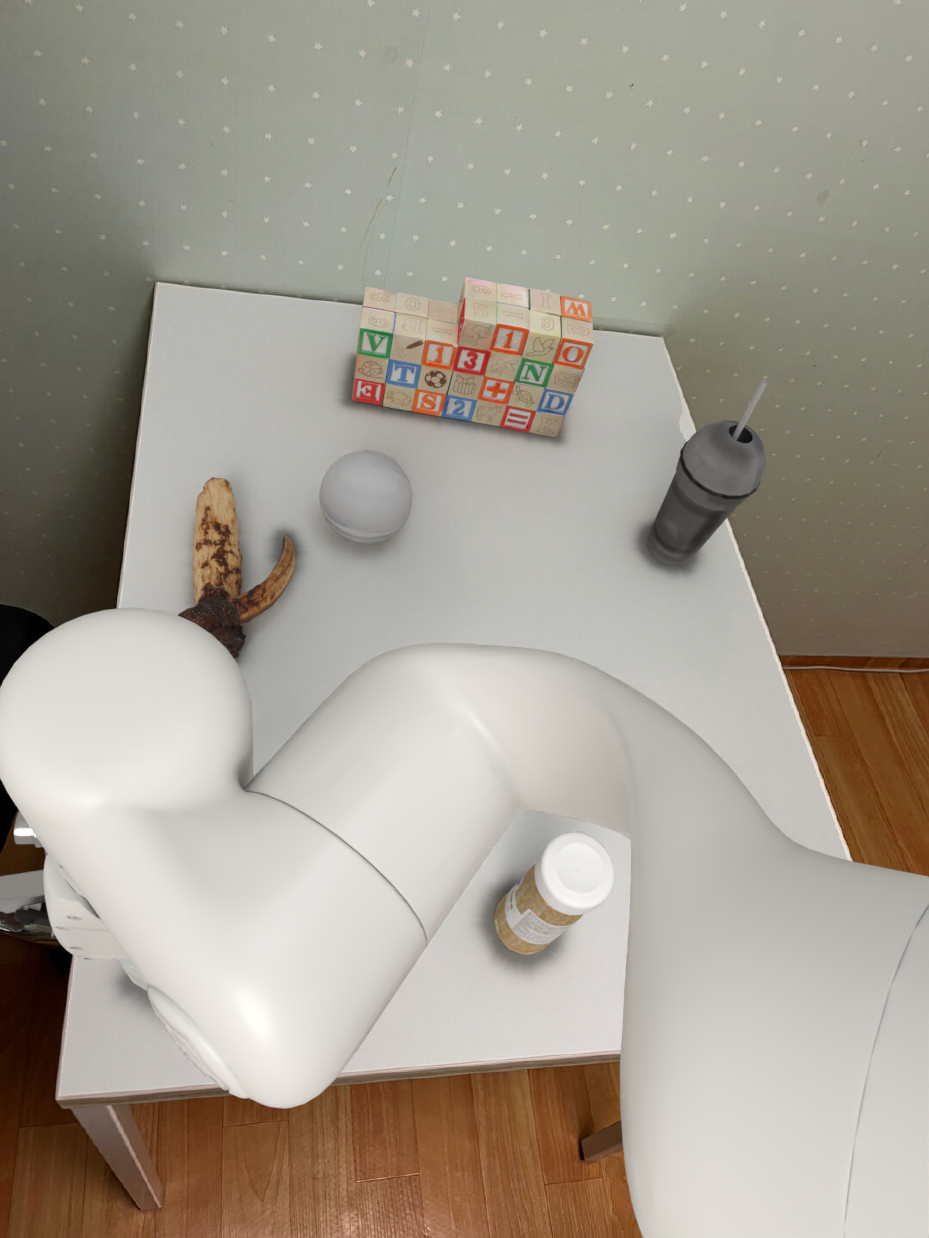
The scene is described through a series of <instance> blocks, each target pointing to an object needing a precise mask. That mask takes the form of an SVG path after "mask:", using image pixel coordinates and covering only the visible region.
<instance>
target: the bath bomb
mask: <svg viewBox="0 0 929 1238" xmlns="http://www.w3.org/2000/svg"><path fill="white" fill-rule="evenodd" d="M318 495H319V496H318V498H319V500H318V501H319V507H320V511H321V514H322V516H323V518H324V520H325V522H326V523H327V525H328V526H329V527H330V528H331V530H333V531H334V532H335V533H336V534H337V535H338V536H339V537H341V538H342V539H344V540H347V541H350V542H352V543H356V544H360V545H374V544H378V543H382V542H384V541H386V540H388V539H390V538H392V537H393V536H395V535H396V534H398V532H399V531H400V530H401V529H402V528H403V527H404V526H405V524H406V523H407V521H408V519H409V517H410V514H411V513H412V512H411V511H412V508H413V489H412V485H411V481H410V479H409V477H408V475H407V473H406V471H405V470H404V469H403V467H402V466H401V465H400V464H399V463H398V462H397V461H396V460H395V459H393V458H391V457H390V456H388V455H386V454H384V453H381V452H380V451H379V452H378V451H375V450H367V449H365V450H364V449H363V450H356V451H352V452H349V453H346V454H344V455H343V456H340V457H339V458H337V460H335V462H333V463H332V464H330V466H329V467H328V469H327V470H326V472H325V473H324V476H322V480H321V482H320V487H319V494H318Z"/></svg>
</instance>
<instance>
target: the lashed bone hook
mask: <svg viewBox="0 0 929 1238" xmlns="http://www.w3.org/2000/svg"><path fill="white" fill-rule="evenodd" d="M239 533H240V532H239V518H238V515H237V510H236V503H235V496H234V493H233V489H232V485H231V482H230V481H229V480H228V479H226V478H223V477H214V476H212V477H211V478H209V479H208V480H207V481H205V483H204V485H203V487H202V491H201V492H200V493H199V494H198V496H197V499H196V504H195V525H194V526H193V540H192V542H193V544H192V549H193V551H192V574H193V600H194V606H192V607H189V608H186V609H184V610H183V611H182V612H179V613H178V614H177V615H178V616H180V617H182V618H184V619H187V620H189V621H191V622H194V623H195V624H197V625H198V626H200V627H201V628H203V629H204V630H206V631H207V632H209V633H210V634H212V635H213V636H214V637H215V638H216V639H217V640H218V641H219V642H220V643H221V644H222V645H223V646H225V647H226V648H227V650H228V651H229V653H230V654H231V655H232V657H233V658H234V660H235V661H236V659H237V658H239V657H240V652H241V650H242V648H243V647H244V645H245V643H246V638H247V635H246V634H245V633H244V628H243V624H246V623H249V622H250V621H252V620H254V619H255V618H258V617H259V616H262V615H263V614H264V613H265V612H267V611H268V610H270V609H271V608H272V607H273V606H274V605H275V603H276V602H277V601H278V600H279V599H280V598H281V597H282V596H283V594H284V592H285V591H286V589H287V587H288V586H289V584H290V581H291V580H292V578H293V576H294V572H295V570H296V563H297V556H296V555H297V554H296V551H295V547H294V544H293V542H292V540H291V539H290V537H289V536H288V535H284V537H283V540H282V548H281V549H282V550H281V552H280V556H279V558H278V561H277V563H276V564H275V566H274V568H273V569H272V571H271V572H270V573H269V575H268V576H267V577H266V578H265V579H264V580H263V581H262V582H260V583H259V584H256V585H255V586H254V587H253V588H251V589H249V590H247V591H246V592H243V593H241V590H242V587H243V577H242V575H243V573H242V562H243V555H242V553H241V548H240V540H239V535H240V534H239Z"/></svg>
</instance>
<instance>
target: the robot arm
mask: <svg viewBox="0 0 929 1238" xmlns="http://www.w3.org/2000/svg"><path fill="white" fill-rule="evenodd" d="M250 695H251V694H250V691H249V688H248V683H247V680H246V677H245V676H244V673H243V672H242V670H241V667H240V665H239V664H238V662H237V661H236V659H235V660H234V658H233V657H232V655H231V654H230V653H229V651H228V650H227V648H226V647H225V646H223V645H222V644H221V643H220V642H219V641H218V640H217V639H216V638H215V637H214V636H213V635H212V634H210V633H209V632H207V631H206V630H204V629H203V628H201V627H200V626H198V625H197V624H195V623H194V622H191V621H189V620H187V619H184V618H182V617H180V616H178V614H176V613H175V614H174V613H171V612H167V611H163V610H160V609H153V608H143V607H120V608H119V607H118V608H111V609H102V610H99V611H95V612H91V613H87V614H83V615H81V616H78V617H76V618H73V619H71V620H69V621H68V620H67V621H66V622H64V623H62V624H60V625H59V626H57V627H55V628H54V629H52V630H50V631H48V632H47V633H45V634H44V635H42V636H41V637H40V638H39V639H37V640H36V641H34V642H33V643H32V644H31V645H30V646H29V647H28V648H27V649H26V650H25V651H24V652H22V654H21V655H20V657H19V658H17V660H15V662H14V663H13V665H12V667H11V668H10V670H9V671H8V673H7V674H6V676H5V677H4V679H3V680H2V683H1V685H0V781H1V783H2V785H3V786H4V788H5V791H6V793H7V794H8V795H9V797H10V799H11V800H12V802H13V803H14V805H15V807H17V809H18V813H17V814H16V818H15V822H14V828H13V839H14V843H15V844H16V845H34V847H35V848H36V849H44V855H45V859H44V864H43V869H39V870H32V871H26V872H20V873H12V874H7V875H1V876H0V912H2V913H4V914H12V913H14V917H13V920H14V921H16V922H18V923H19V925H22V926H31V925H38V926H44V927H49V928H51V934H50V938H51V939H54V940H57V941H58V943H59V945H61V946H62V948H64V950H66V951H67V952H68V953H70V954H71V955H72V956H74V957H77V958H79V959H80V958H81V959H84V960H118V959H129V960H130V961H131V962H132V964H133V965H134V967H135V968H136V969H137V971H138V972H139V974H140V975H141V977H142V978H143V979H144V981H145V982H146V984H147V985H148V991H147V996H148V1000H149V1004H150V1006H151V1007H152V1010H153V1012H154V1014H155V1016H156V1018H157V1019H158V1021H160V1022H161V1023H162V1024H163V1026H164V1027H165V1028H164V1030H165V1032H166V1033H167V1035H168V1036H169V1037H170V1039H171V1040H172V1041H173V1042H174V1044H175V1045H176V1047H177V1048H178V1049H179V1050H180V1051H181V1053H183V1055H184V1056H187V1059H188V1060H189V1061H190V1062H191V1063H192V1064H193V1065H194V1066H195V1068H197V1069H198V1070H199V1071H200V1072H201V1073H202V1074H203V1075H204V1076H206V1077H208V1078H210V1080H212V1081H213V1083H215V1084H216V1085H217V1087H219V1088H220V1089H222V1090H223V1091H228V1094H230V1095H232V1096H234V1097H237V1098H239V1099H250V1100H252V1101H254V1102H256V1103H258V1104H260V1105H263V1106H266V1107H269V1108H275V1109H291V1108H294V1107H295V1108H296V1107H298V1106H302V1105H305V1104H307V1103H308V1102H310V1101H311V1100H313V1099H315V1098H317V1097H318V1096H320V1095H321V1094H322V1093H323V1092H324V1091H325V1090H326V1089H327V1088H328V1087H329V1086H330V1085H331V1084H332V1083H333V1082H335V1080H337V1078H338V1077H339V1075H341V1073H342V1071H343V1070H344V1069H345V1067H347V1065H348V1063H350V1061H351V1060H352V1058H353V1057H354V1056H355V1055H356V1053H357V1051H358V1050H359V1049H360V1047H361V1046H362V1044H363V1043H364V1042H365V1040H366V1038H367V1037H368V1035H369V1034H370V1032H371V1031H372V1029H373V1028H374V1026H375V1025H376V1024H377V1022H378V1020H379V1019H380V1017H381V1016H382V1014H383V1013H384V1012H385V1010H386V1008H387V1007H388V1005H389V1004H390V1002H391V1001H392V999H393V998H394V996H395V995H396V993H397V992H398V991H399V989H400V988H401V986H402V985H403V983H404V981H405V980H406V979H407V977H408V975H410V972H411V971H412V969H413V968H414V967H415V965H416V963H417V962H418V960H419V959H420V958H421V956H422V954H423V953H424V951H425V950H426V949H427V947H428V946H429V944H430V943H431V941H432V940H433V938H434V937H435V935H436V934H437V932H438V931H439V929H440V928H441V926H442V924H443V923H444V921H445V920H446V918H448V915H449V914H450V913H451V911H452V910H453V908H454V907H455V905H456V903H457V902H458V901H459V899H460V898H461V896H462V895H463V893H464V892H465V891H466V889H467V887H468V886H469V884H470V883H471V881H472V880H473V878H475V876H476V874H477V872H478V871H479V869H480V868H481V866H483V863H484V862H485V860H487V858H488V857H489V855H490V854H491V852H492V851H493V849H494V848H495V846H496V845H497V844H498V842H499V841H500V839H501V838H502V836H503V835H504V833H505V832H506V830H507V829H508V827H509V826H510V824H511V823H512V822H513V820H514V818H515V817H516V816H517V815H519V814H521V813H528V812H529V813H530V812H533V813H534V812H536V813H545V814H551V815H556V816H560V817H565V818H570V819H573V820H577V821H582V822H585V823H589V824H592V825H596V826H599V827H601V828H605V829H607V830H610V831H612V832H615V833H617V834H620V835H621V836H623V837H625V838H627V839H628V840H630V884H629V885H630V886H629V887H630V888H629V889H630V890H629V915H628V916H629V917H628V930H627V931H628V932H627V945H626V946H627V947H626V959H625V973H624V985H623V986H624V987H623V989H624V990H623V1009H622V1028H621V1041H620V1055H619V1058H620V1059H619V1109H620V1122H621V1123H620V1124H621V1139H622V1149H623V1150H622V1151H623V1161H624V1170H625V1177H626V1181H627V1186H628V1192H629V1197H630V1202H631V1206H632V1209H633V1213H634V1216H635V1220H636V1223H637V1225H638V1228H639V1231H640V1234H641V1237H642V1238H929V876H928V875H922V874H918V873H912V872H908V871H903V870H899V869H898V870H897V869H893V868H889V867H888V868H887V867H884V866H883V867H882V866H878V865H873V864H867V863H862V862H857V861H853V860H849V859H844V858H842V857H837V856H832V855H829V854H826V853H823V852H820V851H818V850H814V849H811V848H809V847H806V846H804V845H802V844H800V843H798V842H796V841H795V840H793V839H792V838H791V837H789V836H788V835H786V834H785V832H783V831H782V830H781V829H780V828H779V827H778V826H777V825H776V824H775V822H773V821H772V820H771V818H770V817H769V815H768V814H767V812H766V811H765V810H764V808H763V807H762V806H761V805H760V804H759V802H758V800H756V798H755V797H754V795H753V794H752V792H751V791H750V790H749V789H748V788H747V786H746V784H744V782H743V781H742V780H741V778H739V776H738V775H737V773H736V772H735V771H734V770H733V768H732V767H731V766H729V764H728V763H727V762H726V761H725V760H724V759H723V758H722V757H721V755H719V753H717V751H715V750H714V749H713V748H712V746H711V745H710V744H708V743H707V742H706V740H704V739H703V737H702V736H700V735H699V734H698V733H697V732H696V731H694V729H692V728H691V727H689V726H688V725H687V724H686V723H684V722H683V721H682V720H681V719H679V718H678V717H677V716H675V715H674V714H673V713H671V711H669V710H667V709H666V708H665V707H663V706H662V705H661V704H659V703H657V702H656V701H654V700H653V699H651V698H650V697H649V696H647V695H646V694H644V693H642V692H641V691H640V690H638V689H636V688H634V687H633V686H631V685H629V684H628V683H626V682H624V681H623V680H621V679H619V678H617V677H615V676H613V675H611V674H609V673H608V672H606V671H604V670H602V669H600V668H599V667H597V666H595V665H592V664H590V663H588V662H586V661H583V660H580V659H578V658H575V657H572V656H570V655H569V656H568V655H566V654H563V653H559V652H554V651H549V650H544V649H539V648H538V649H537V648H532V647H531V648H530V647H519V646H510V645H509V646H506V645H491V644H478V643H464V642H463V643H460V642H429V643H419V644H412V645H407V646H403V647H398V648H394V649H390V650H388V651H385V652H383V653H380V654H378V655H376V656H374V657H373V658H371V659H369V660H368V661H366V662H364V663H363V664H362V665H360V666H359V667H358V668H357V669H355V670H354V671H353V672H352V673H350V674H349V675H348V676H347V677H346V678H345V679H344V680H343V681H342V682H341V683H340V684H339V685H338V686H337V687H336V688H335V689H334V690H333V691H332V692H331V693H330V694H329V695H328V696H327V697H326V698H325V699H324V701H322V702H321V703H320V705H318V707H317V708H316V709H315V710H314V711H313V712H312V713H311V714H310V715H309V716H308V717H307V718H306V719H305V720H304V722H303V723H302V724H301V725H300V726H299V727H298V728H297V729H296V730H295V732H293V733H292V735H291V736H289V738H288V739H287V740H286V741H285V742H284V743H283V744H282V745H281V747H280V748H278V750H277V751H276V752H275V753H274V754H273V756H272V757H271V758H270V759H269V760H268V761H267V762H265V764H264V765H263V767H261V769H260V770H259V771H257V773H256V774H255V775H254V723H253V721H254V719H253V703H252V700H251V696H250Z"/></svg>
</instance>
